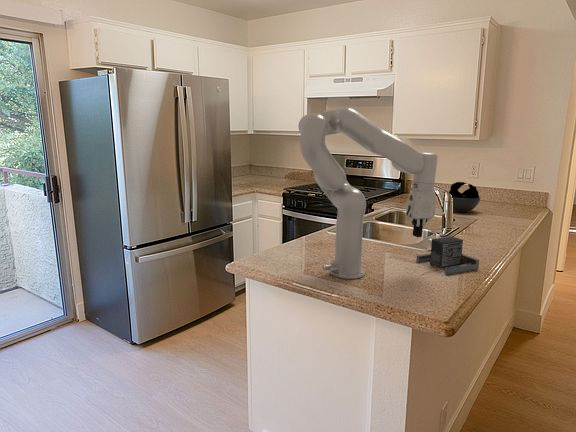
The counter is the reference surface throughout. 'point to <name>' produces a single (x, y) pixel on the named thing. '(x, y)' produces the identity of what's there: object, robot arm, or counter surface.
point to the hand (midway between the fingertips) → (417, 236)
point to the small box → (446, 252)
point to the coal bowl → (464, 197)
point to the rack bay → (466, 266)
